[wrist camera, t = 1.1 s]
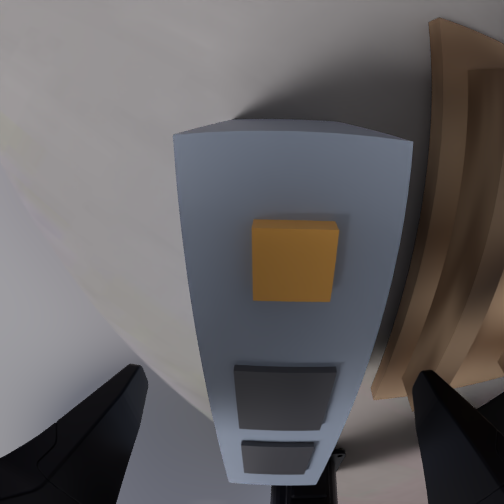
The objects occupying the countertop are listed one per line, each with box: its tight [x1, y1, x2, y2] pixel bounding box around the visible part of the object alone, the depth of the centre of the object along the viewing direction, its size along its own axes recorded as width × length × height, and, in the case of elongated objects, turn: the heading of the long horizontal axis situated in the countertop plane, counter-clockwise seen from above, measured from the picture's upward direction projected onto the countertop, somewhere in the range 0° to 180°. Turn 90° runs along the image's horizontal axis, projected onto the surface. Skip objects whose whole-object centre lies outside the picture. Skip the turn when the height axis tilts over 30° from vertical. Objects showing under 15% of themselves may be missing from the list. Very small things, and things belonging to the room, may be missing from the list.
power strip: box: [173, 119, 413, 485], centre depth 11 cm, size 14×4×7 cm, turn 1°
